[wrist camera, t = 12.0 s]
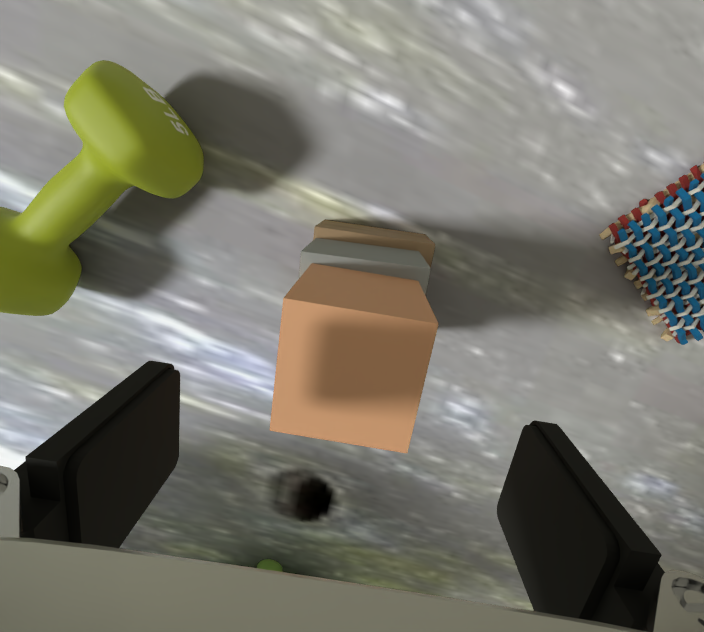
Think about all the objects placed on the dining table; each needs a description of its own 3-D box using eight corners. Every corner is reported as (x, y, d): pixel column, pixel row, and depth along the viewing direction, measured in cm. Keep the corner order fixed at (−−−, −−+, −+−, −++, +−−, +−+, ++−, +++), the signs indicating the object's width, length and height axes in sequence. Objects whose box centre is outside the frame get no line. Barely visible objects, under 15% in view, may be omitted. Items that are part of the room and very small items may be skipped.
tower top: (402, 346, 25) (408, 384, 20) (307, 333, 25) (291, 368, 20) (419, 251, 23) (430, 268, 18) (316, 237, 23) (301, 251, 18)
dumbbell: (151, 66, 25) (66, 20, 18) (234, 172, 27) (186, 168, 20) (-4, 223, 29) (-122, 235, 22) (78, 308, 30) (-7, 344, 24)
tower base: (406, 327, 30) (412, 355, 25) (314, 314, 30) (302, 338, 25) (424, 234, 27) (435, 244, 23) (325, 219, 27) (314, 226, 23)
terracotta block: (397, 376, 20) (407, 453, 14) (299, 360, 20) (269, 430, 14) (418, 280, 18) (438, 323, 13) (311, 263, 18) (283, 298, 13)
